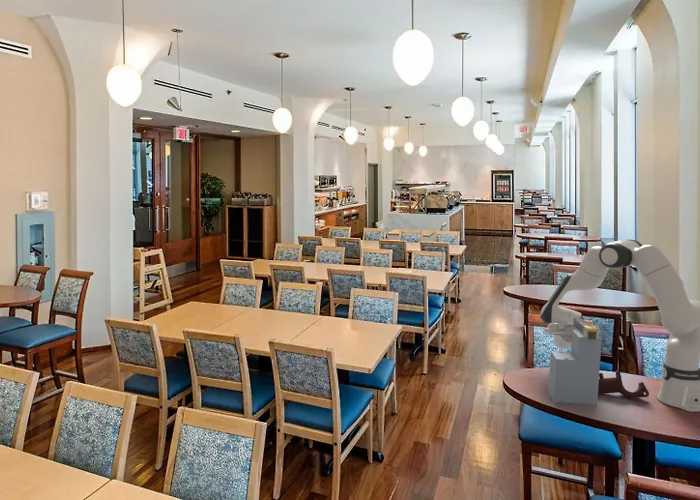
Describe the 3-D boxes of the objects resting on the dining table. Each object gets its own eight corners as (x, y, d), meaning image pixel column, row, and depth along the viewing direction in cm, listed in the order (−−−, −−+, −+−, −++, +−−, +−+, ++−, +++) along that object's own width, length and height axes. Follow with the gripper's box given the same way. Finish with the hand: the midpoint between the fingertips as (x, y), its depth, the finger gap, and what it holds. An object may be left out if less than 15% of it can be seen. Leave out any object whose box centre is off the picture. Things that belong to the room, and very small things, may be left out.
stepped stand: (589, 394, 203) (593, 330, 200) (597, 404, 194) (601, 338, 190) (548, 391, 206) (552, 328, 203) (554, 401, 196) (557, 336, 193)
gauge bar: (582, 325, 208) (583, 315, 208) (597, 339, 189) (598, 329, 188) (572, 324, 209) (572, 315, 209) (586, 338, 190) (586, 328, 189)
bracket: (651, 396, 194) (644, 368, 198) (599, 400, 200) (593, 372, 203) (647, 396, 200) (641, 369, 204) (597, 400, 206) (592, 373, 209)
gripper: (543, 325, 225) (549, 316, 212) (593, 327, 221) (602, 318, 209) (544, 339, 222) (551, 331, 210) (594, 341, 219) (604, 333, 206)
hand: (577, 325), depth 209 cm, fingers open, 8 cm apart
